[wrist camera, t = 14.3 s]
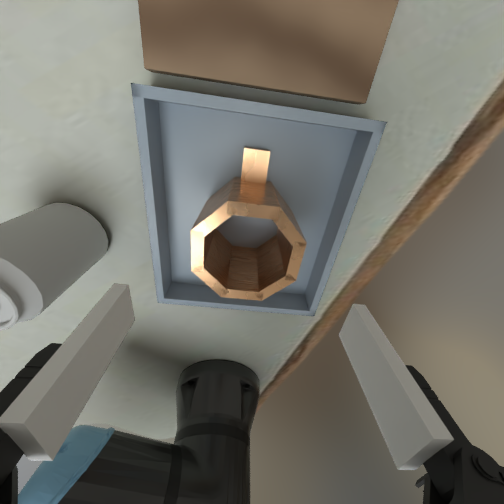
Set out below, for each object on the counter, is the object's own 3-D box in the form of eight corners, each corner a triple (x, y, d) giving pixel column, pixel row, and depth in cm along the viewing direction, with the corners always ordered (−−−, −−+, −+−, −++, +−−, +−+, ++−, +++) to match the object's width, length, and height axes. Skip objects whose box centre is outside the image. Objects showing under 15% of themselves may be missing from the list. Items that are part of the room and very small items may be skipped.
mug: (279, 257, 27) (289, 303, 20) (206, 250, 27) (191, 294, 20) (303, 154, 21) (328, 169, 15) (209, 141, 21) (189, 151, 14)
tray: (307, 297, 31) (314, 316, 28) (167, 284, 30) (157, 302, 27) (366, 122, 20) (387, 122, 17) (149, 89, 19) (130, 82, 16)
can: (61, 185, 23) (-91, 236, 13) (124, 233, 26) (42, 307, 16) (31, 228, 26) (-116, 301, 15) (92, 268, 29) (2, 351, 18)
